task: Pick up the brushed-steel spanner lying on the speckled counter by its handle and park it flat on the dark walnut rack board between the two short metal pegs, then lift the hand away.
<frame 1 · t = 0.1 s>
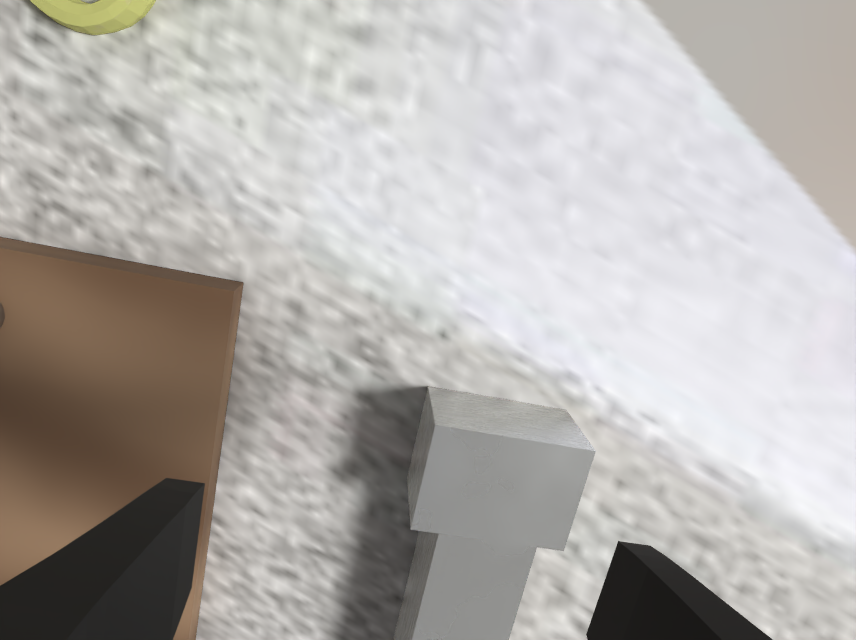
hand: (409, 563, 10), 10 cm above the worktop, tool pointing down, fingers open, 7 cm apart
spanner: (444, 600, 22), on the worktop
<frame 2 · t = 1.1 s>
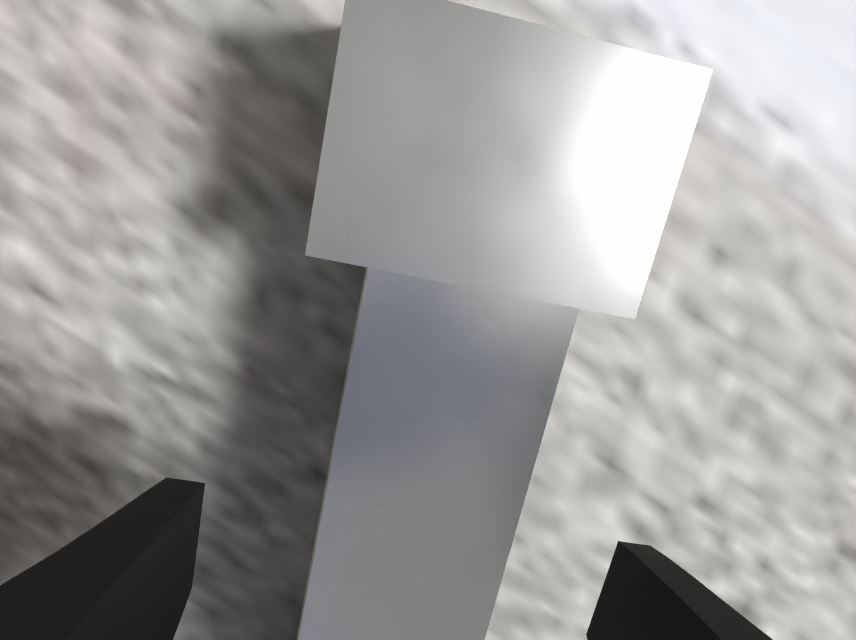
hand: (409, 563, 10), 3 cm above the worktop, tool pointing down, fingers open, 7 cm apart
spanner: (401, 479, 13), on the worktop
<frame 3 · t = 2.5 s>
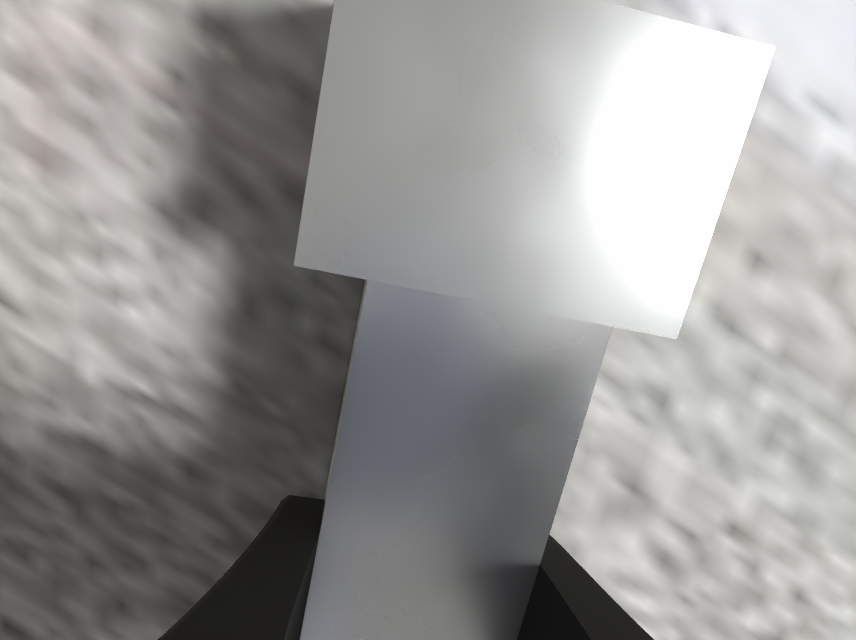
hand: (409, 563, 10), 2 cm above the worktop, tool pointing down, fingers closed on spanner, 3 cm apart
spanner: (405, 508, 11), on the worktop, touching gripper
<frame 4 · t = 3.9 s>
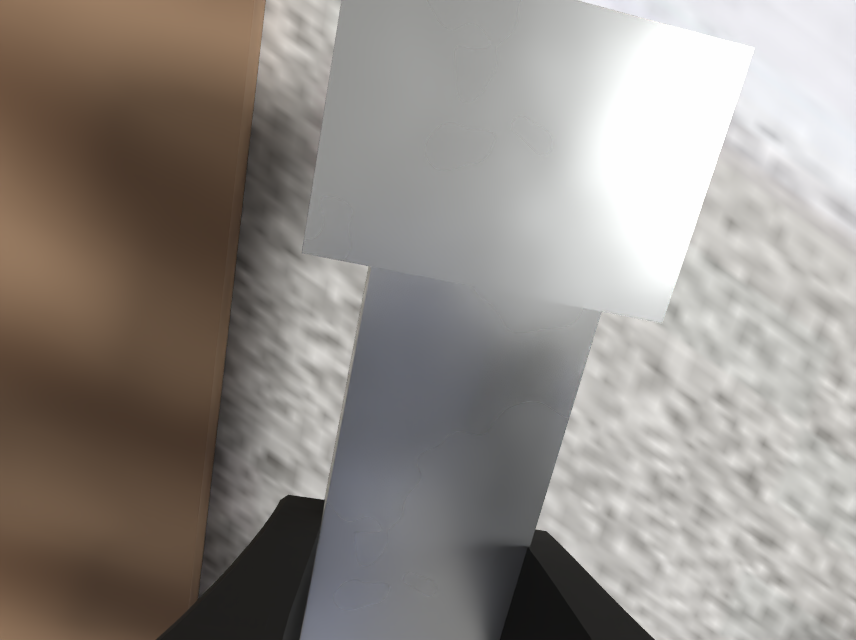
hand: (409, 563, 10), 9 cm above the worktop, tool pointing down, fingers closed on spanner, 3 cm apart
spanner: (406, 487, 12), point 6 cm above the worktop, touching gripper
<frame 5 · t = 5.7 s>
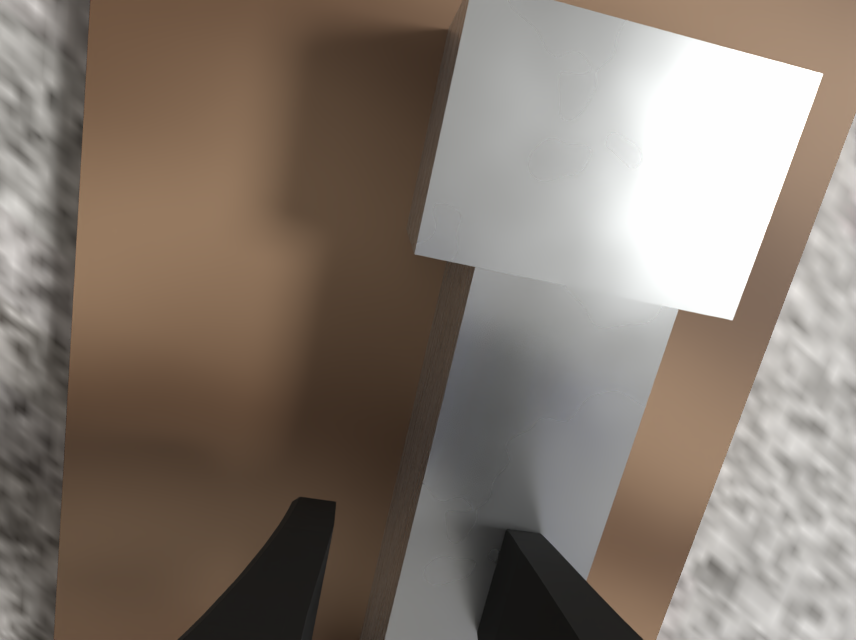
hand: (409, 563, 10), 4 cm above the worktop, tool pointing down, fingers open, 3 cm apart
rack board: (403, 450, 14), on the worktop
spanner: (470, 477, 13), point 1 cm above the worktop, touching gripper, rack board
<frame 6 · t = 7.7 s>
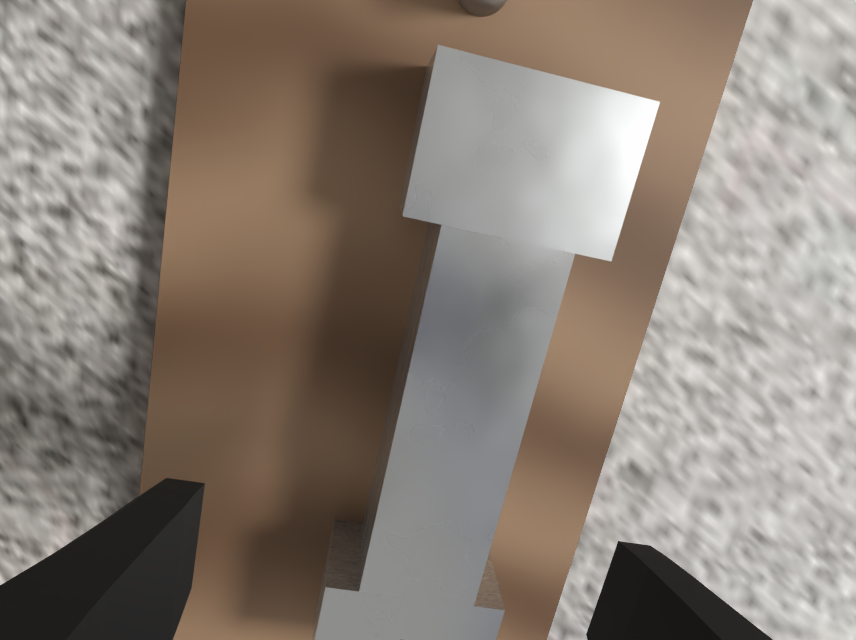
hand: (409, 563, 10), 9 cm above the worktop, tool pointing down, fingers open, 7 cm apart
rack board: (395, 373, 18), on the worktop
spanner: (446, 388, 17), point 1 cm above the worktop, touching rack board
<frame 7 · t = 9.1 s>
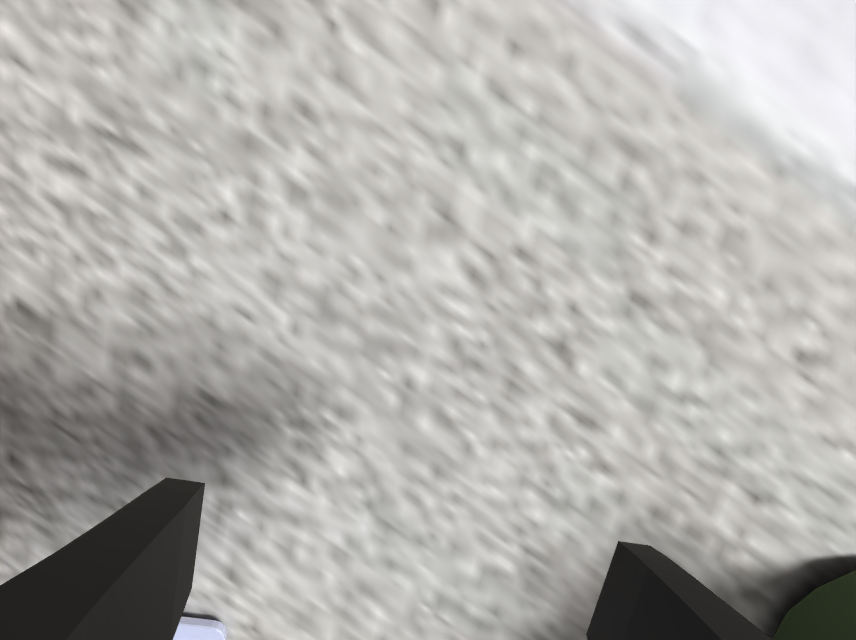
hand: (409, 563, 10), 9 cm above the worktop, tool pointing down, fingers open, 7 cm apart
character mug: (834, 616, 23), on the worktop
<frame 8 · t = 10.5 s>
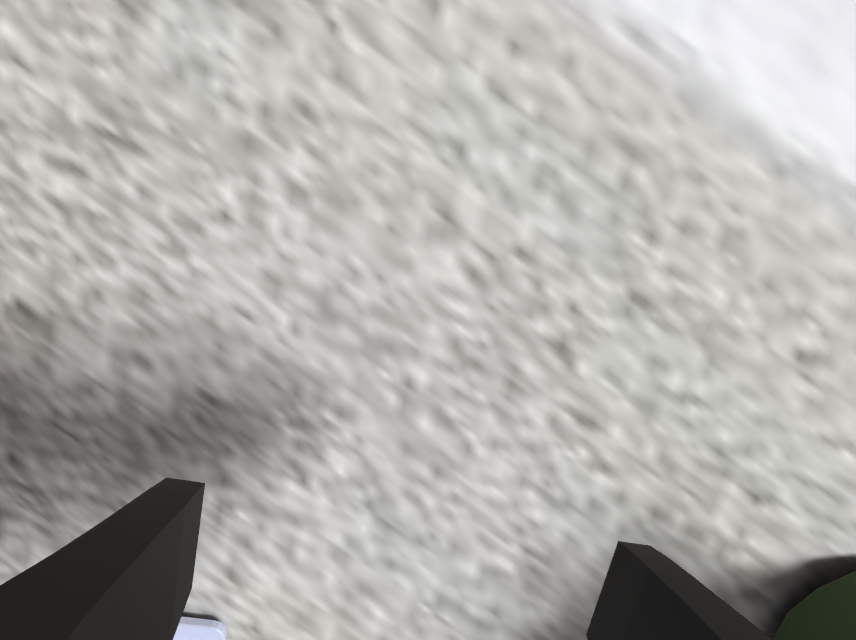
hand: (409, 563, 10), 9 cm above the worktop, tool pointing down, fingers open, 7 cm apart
character mug: (834, 616, 23), on the worktop
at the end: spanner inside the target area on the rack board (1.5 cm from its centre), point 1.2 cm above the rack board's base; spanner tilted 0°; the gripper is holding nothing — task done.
